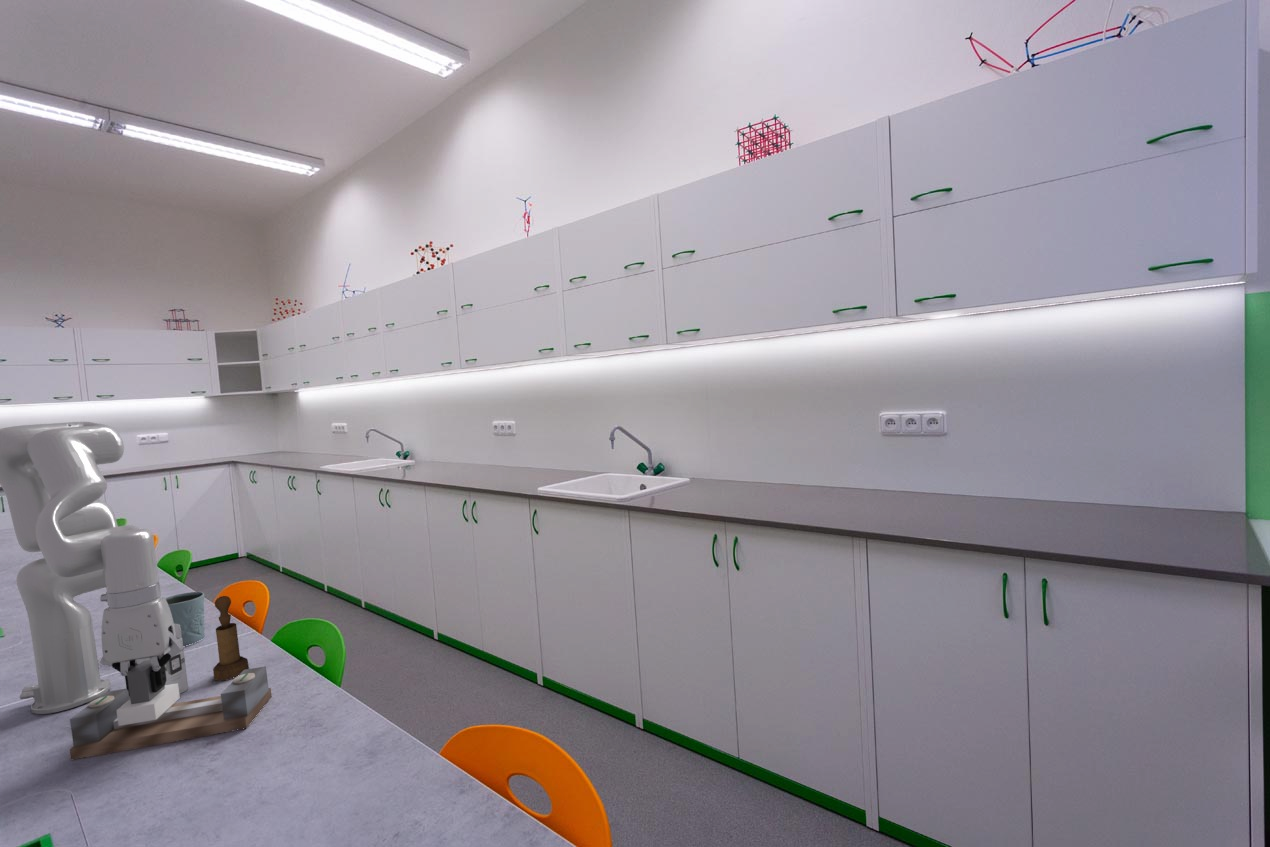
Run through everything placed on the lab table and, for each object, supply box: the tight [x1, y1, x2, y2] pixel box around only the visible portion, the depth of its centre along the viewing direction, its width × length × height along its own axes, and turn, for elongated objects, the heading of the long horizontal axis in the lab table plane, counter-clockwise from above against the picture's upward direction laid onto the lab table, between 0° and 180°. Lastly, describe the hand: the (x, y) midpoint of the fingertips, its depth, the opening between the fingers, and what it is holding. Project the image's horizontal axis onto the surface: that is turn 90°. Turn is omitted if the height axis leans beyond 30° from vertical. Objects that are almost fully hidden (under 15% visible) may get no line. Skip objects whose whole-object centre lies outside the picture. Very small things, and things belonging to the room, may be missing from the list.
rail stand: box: [69, 666, 273, 760], centre depth 113 cm, size 28×12×8 cm, turn 102°
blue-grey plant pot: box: [165, 591, 205, 646], centre depth 156 cm, size 10×10×12 cm
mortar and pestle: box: [212, 595, 250, 682], centre depth 134 cm, size 7×6×18 cm
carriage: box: [116, 660, 181, 726], centre depth 111 cm, size 6×8×9 cm
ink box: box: [137, 624, 189, 695], centre depth 127 cm, size 9×5×15 cm, turn 71°
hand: (147, 689), depth 111 cm, fingers closed on carriage, 3 cm apart
